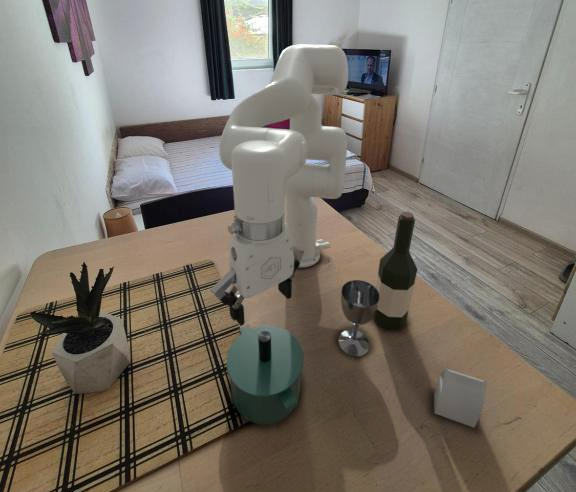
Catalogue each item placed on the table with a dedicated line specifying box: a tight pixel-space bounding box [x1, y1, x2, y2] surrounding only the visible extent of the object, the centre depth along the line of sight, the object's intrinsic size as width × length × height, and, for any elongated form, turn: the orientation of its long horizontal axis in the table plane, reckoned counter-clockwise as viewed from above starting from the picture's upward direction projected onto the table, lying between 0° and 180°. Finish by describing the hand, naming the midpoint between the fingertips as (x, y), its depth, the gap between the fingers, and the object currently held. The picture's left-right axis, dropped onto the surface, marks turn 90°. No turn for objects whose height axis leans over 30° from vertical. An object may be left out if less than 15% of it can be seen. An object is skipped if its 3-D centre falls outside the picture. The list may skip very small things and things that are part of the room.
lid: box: [226, 324, 304, 398], centre depth 61 cm, size 15×15×7 cm
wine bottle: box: [373, 211, 418, 331], centre depth 76 cm, size 8×8×30 cm
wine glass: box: [337, 279, 379, 358], centre depth 72 cm, size 8×8×15 cm
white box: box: [433, 368, 488, 429], centre depth 60 cm, size 4×7×10 cm, turn 69°
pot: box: [229, 324, 302, 426], centre depth 64 cm, size 14×19×8 cm
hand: (262, 306), depth 56 cm, fingers open, 9 cm apart
